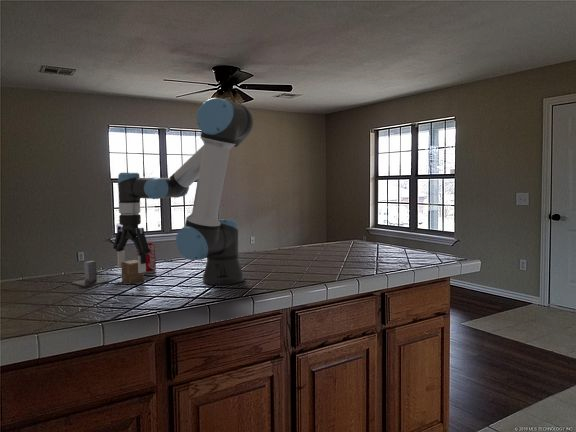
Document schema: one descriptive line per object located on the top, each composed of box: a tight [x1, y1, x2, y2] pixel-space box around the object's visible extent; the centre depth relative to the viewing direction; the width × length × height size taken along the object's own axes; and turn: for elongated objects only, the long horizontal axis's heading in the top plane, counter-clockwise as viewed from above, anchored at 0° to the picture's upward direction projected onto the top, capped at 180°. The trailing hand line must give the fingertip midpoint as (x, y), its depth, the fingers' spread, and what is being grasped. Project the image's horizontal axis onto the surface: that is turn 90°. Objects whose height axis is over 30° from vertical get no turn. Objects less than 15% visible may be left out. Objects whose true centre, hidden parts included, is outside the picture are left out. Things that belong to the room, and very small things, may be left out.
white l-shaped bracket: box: [70, 260, 112, 288], centre depth 161 cm, size 10×10×8 cm
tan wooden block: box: [120, 259, 145, 285], centre depth 162 cm, size 6×6×8 cm
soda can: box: [136, 240, 157, 275], centre depth 178 cm, size 7×7×13 cm
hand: (131, 270), depth 162 cm, fingers open, 13 cm apart
